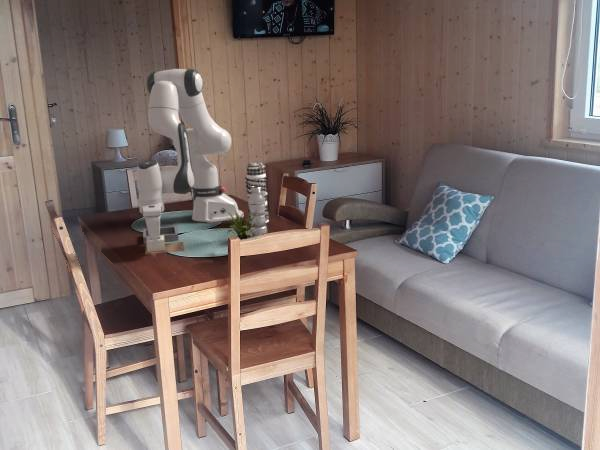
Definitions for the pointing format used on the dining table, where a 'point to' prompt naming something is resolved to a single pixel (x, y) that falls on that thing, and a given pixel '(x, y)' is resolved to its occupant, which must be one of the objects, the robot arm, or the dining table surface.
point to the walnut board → (168, 248)
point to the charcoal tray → (168, 233)
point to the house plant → (238, 226)
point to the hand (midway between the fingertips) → (155, 243)
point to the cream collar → (160, 244)
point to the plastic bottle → (257, 211)
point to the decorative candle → (257, 183)
